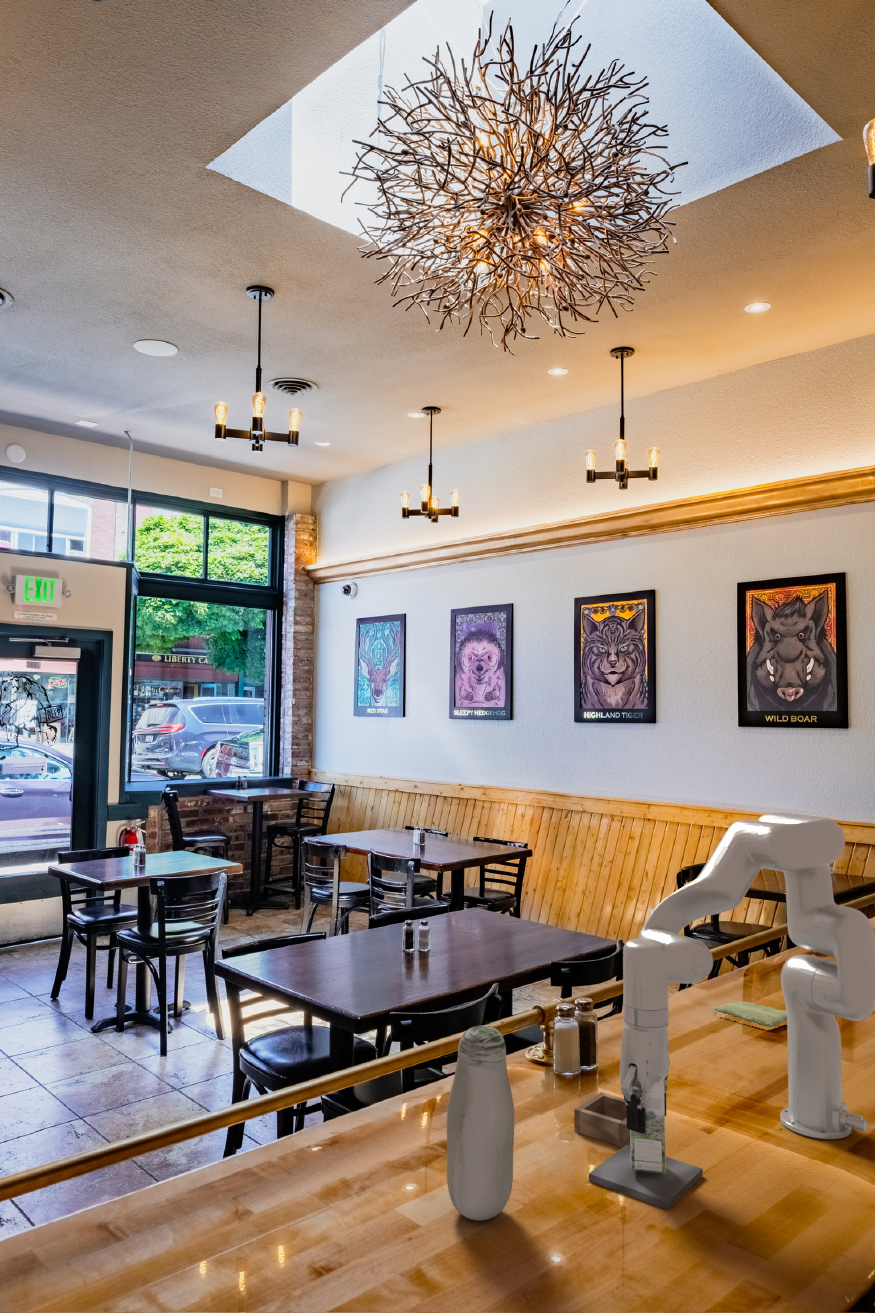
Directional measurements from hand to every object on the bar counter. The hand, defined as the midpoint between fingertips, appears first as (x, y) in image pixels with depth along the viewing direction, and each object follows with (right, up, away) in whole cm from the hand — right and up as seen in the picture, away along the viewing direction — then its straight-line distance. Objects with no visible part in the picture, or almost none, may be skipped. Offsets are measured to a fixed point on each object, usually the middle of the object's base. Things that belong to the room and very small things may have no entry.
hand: (646, 1122), depth 152 cm
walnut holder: (-2, -10, +17) cm, 20 cm away
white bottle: (-29, -8, -13) cm, 32 cm away
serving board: (0, -9, -1) cm, 9 cm away
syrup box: (0, -7, -1) cm, 7 cm away
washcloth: (+47, -17, +84) cm, 98 cm away
